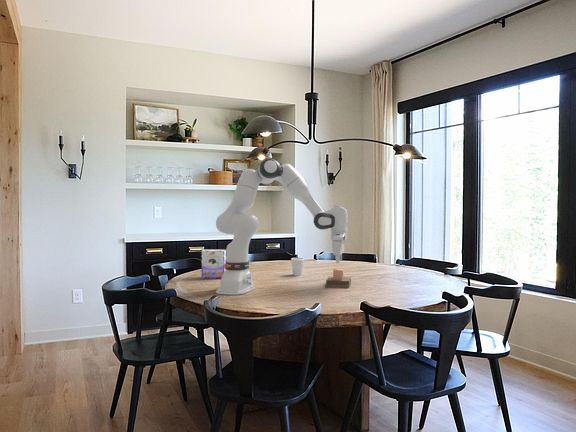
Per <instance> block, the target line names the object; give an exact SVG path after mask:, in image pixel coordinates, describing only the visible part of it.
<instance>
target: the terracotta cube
mask: <svg viewBox="0 0 576 432" xmlns="http://www.w3.org/2000/svg"><path fill="white" fill-rule="evenodd" d="M332 273H333V274H332V277H333V280H343V277H344V269H343V268H342V269H341V268H333V270H332Z"/></svg>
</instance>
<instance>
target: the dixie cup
mask: <svg viewBox="0 0 576 432" xmlns="http://www.w3.org/2000/svg"><path fill="white" fill-rule="evenodd" d="M290 261H291V268H292V275H293V276H295V277H300V276H303V273H304V266H305V265H304V264H305V258H303V257H292V258H290Z"/></svg>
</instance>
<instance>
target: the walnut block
mask: <svg viewBox="0 0 576 432" xmlns="http://www.w3.org/2000/svg"><path fill="white" fill-rule="evenodd" d="M351 284H352V277H350V276H343V280H333V276H328V278H327V279H326V280H325V285H326V286H325V287H326V288H340V289H341V288H345V289H350V287H351Z"/></svg>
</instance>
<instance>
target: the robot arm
mask: <svg viewBox="0 0 576 432" xmlns="http://www.w3.org/2000/svg"><path fill="white" fill-rule="evenodd" d="M275 181H277V182H279V183H280V185H282V186H283V188H284V189H285V190H286V192H287V193H288V194H289V195H291V197H292V198H293V199H296V200H297V201H299V202H301V203H302V205H304V206H305V207H306V209H307V210H308V211H309V212H310V214H311V215H312V217H313V224H314V227H315V228H316V229H318V230H322V231H324V230H328V229H330V241H331V243H332V244H331V245H332V247H331V248H332V255H333V256H335V257H334V258H335V263H336V264H339V263H340V262H341V261H342V260H343V253H344V252H345V243H346V241H347V240H348V231H349V230H348V223H349V221H348V219H349V215H348V210H347V209H346V208H345V207H344V206H339V205H332V206H331V207H329V208H328V209H326V210H324V209H323V207H321V205H320V204H319V203H318V202H317V200H316V199H315V198H314V196H313V195H312V193H311V190H310V189H309V186H308V184H307V182H306V181H305V179H304V177H302V175H301V174H300V172H299V171H298V170H297V169H296V168H294V166H292V165H291V163H283V164H282V163H281V162H279V161H277V160H275V159H273V158H266V159H264V160H262V161H261V162H260V164H259V165H258V167H257V168H256V169H254V168H253V169H252V168H246V169H244V170H242V173H241V174H240V176H239V178H238V181H237V184H236V188H235V192H234V193H233V197H232V200H231V202H230V203H229V205H228V207H227V208H226V209H225V211H223V212H222V213H221V214H219V216H217V218H216V221H215V227H216V229H217V230H218V231H219V232H221V233H222V234H226V235H233V239H232V240H231V242H229V244H227V246H226V264H224V268H225V272H224V274H223V276H222V278H220V285H219V287H218V288H216V291H215V294H218V295H226V296H227V295H231V296H235V295H236V296H237V295H245V294H247V293H249V292H251V291H254V290H256V287H255V286H253V274H252V272H251V271H250V269H249V268H250V261H249V246H250V243H251V239H252V237H253V236H254V235H255V234H256V233H258V231H259V228H260V221H259V219H258V217H257V216H255V215H253V214H250V213H246V212H248V210H250V209H251V208H252V207H253V206H254V203H255V201H256V197H257V193H258V189H259V186H269V185H271V184H272V183H273V182H275Z"/></svg>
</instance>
